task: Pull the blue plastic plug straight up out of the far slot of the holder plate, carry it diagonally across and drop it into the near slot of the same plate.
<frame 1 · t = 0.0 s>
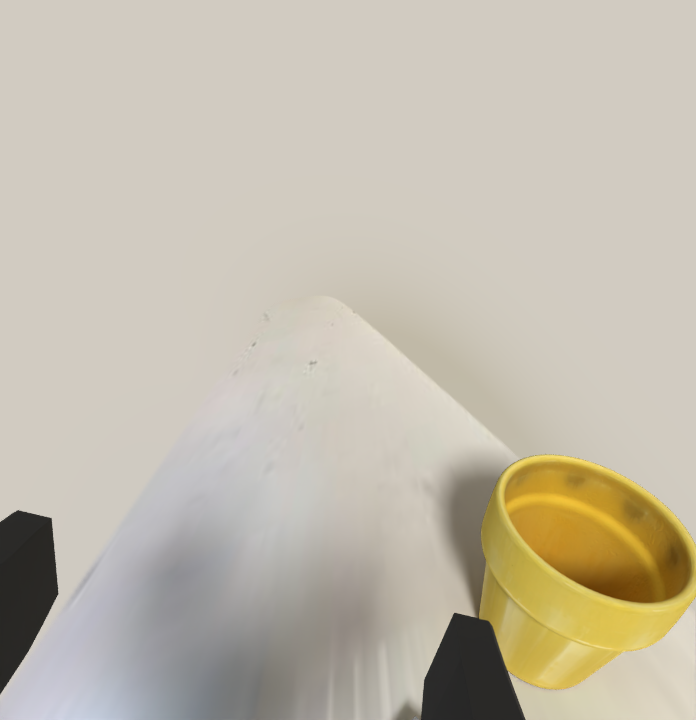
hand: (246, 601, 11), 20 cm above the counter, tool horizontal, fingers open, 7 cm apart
plant pot: (530, 639, 36), on the counter
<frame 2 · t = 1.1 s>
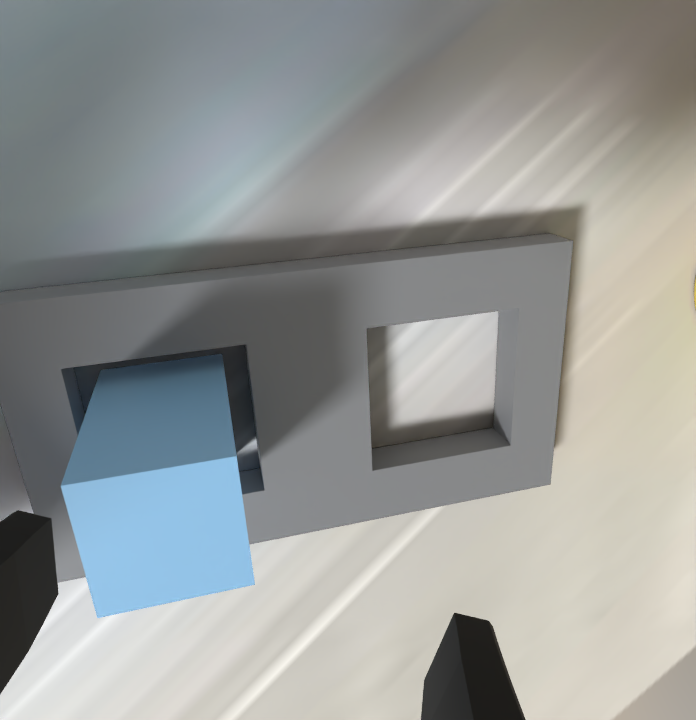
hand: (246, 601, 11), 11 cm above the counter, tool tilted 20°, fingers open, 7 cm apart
plug: (172, 413, 21), resting in holder plate
holder plate: (306, 394, 22), on the counter
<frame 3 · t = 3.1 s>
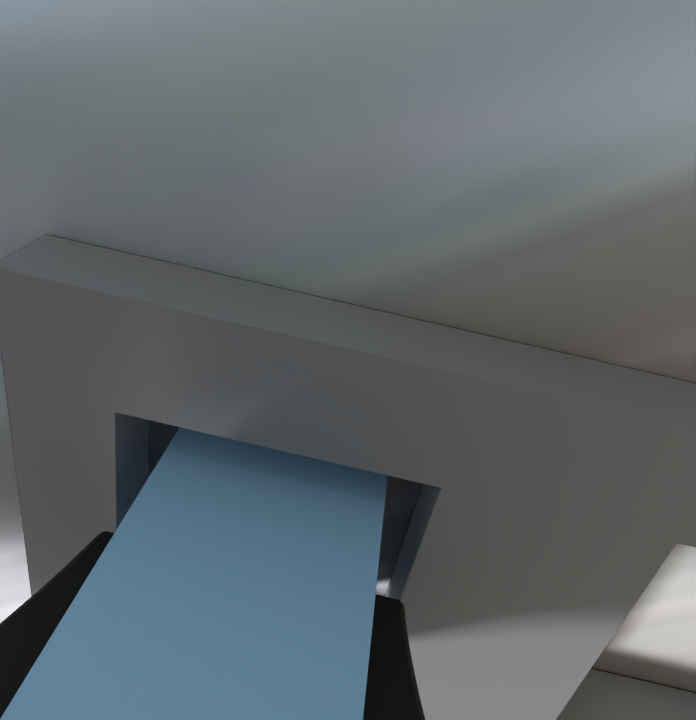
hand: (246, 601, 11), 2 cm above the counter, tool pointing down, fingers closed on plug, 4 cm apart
plug: (276, 505, 13), resting in holder plate, touching gripper
holder plate: (497, 557, 13), on the counter
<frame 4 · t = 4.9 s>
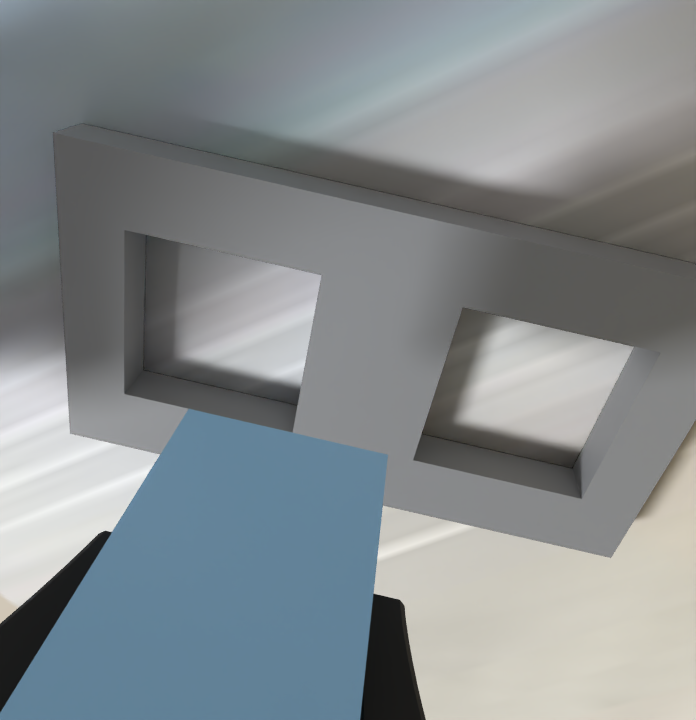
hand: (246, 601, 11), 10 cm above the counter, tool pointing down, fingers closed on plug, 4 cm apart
plug: (275, 504, 13), point 8 cm above the counter, touching gripper
holder plate: (374, 350, 19), on the counter
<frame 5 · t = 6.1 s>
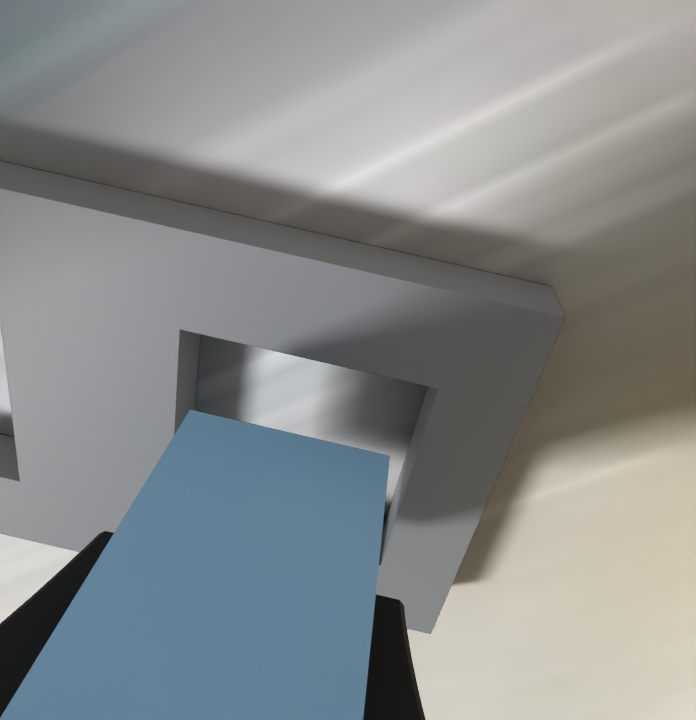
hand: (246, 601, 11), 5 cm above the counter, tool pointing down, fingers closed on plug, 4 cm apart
plug: (276, 505, 13), point 3 cm above the counter, touching gripper
holder plate: (120, 379, 15), on the counter
when the fingers open (4 cm above the counter, at t = 6.9 s): plug drops 1 cm, resting in holder plate.
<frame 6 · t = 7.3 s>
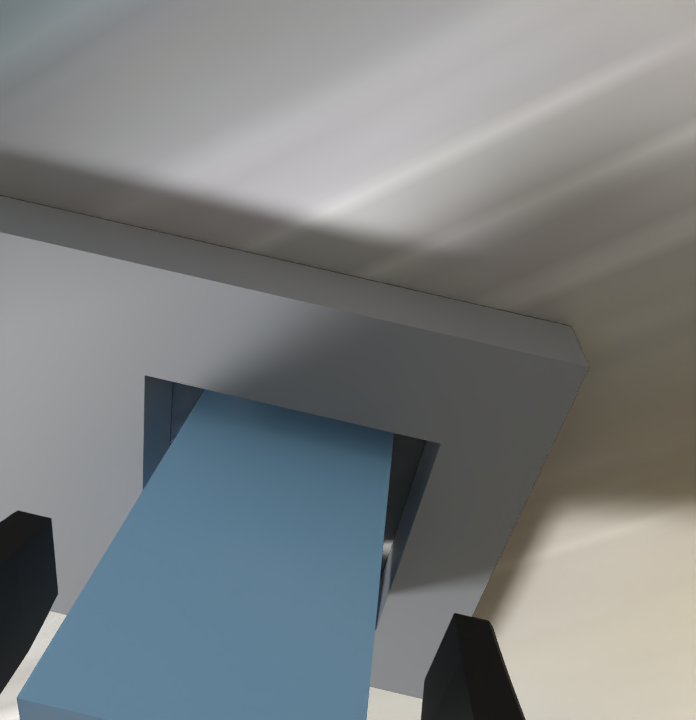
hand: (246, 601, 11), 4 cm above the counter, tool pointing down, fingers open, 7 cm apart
plug: (290, 467, 14), resting in holder plate
holder plate: (85, 422, 14), on the counter
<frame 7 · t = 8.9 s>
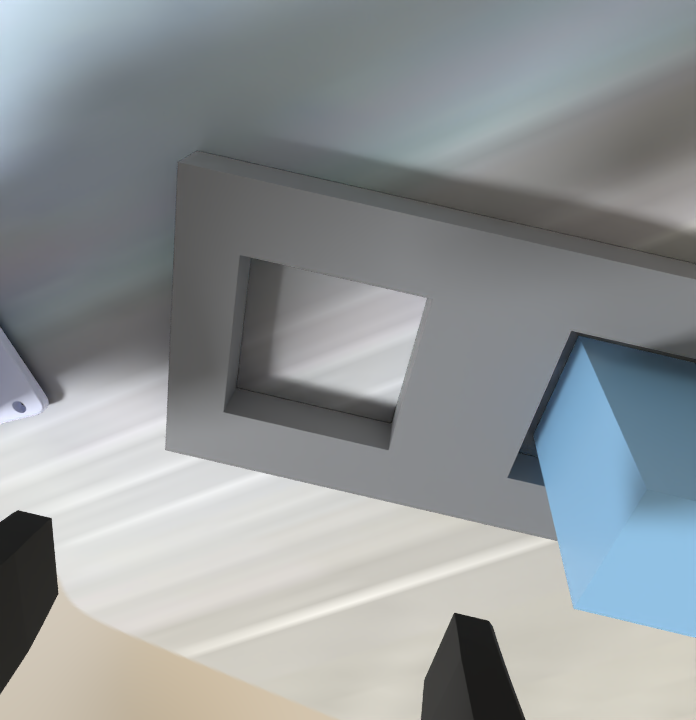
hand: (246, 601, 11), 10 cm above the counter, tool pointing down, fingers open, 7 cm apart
plug: (614, 402, 20), resting in holder plate
holder plate: (470, 370, 20), on the counter
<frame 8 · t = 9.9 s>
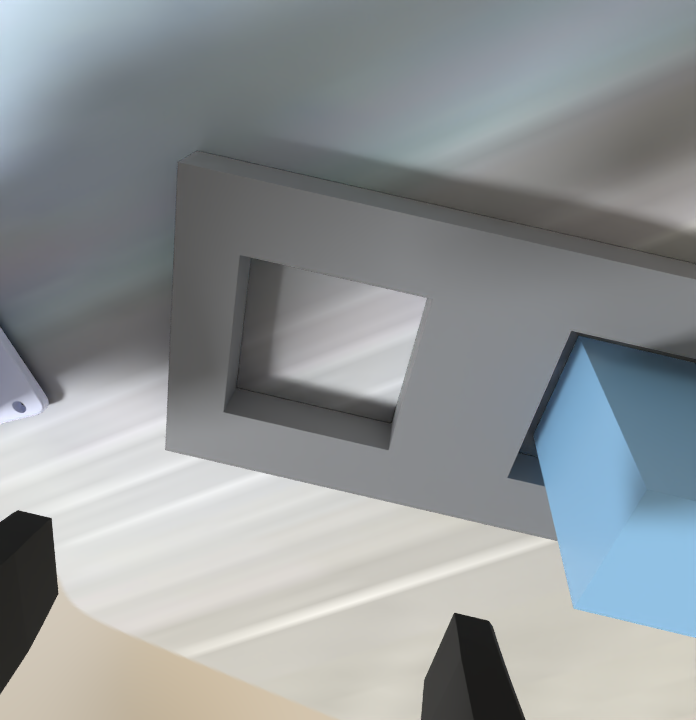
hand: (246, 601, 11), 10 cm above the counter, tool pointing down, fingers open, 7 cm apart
plug: (614, 402, 20), resting in holder plate
holder plate: (470, 370, 20), on the counter
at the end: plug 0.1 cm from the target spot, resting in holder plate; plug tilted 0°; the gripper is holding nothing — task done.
